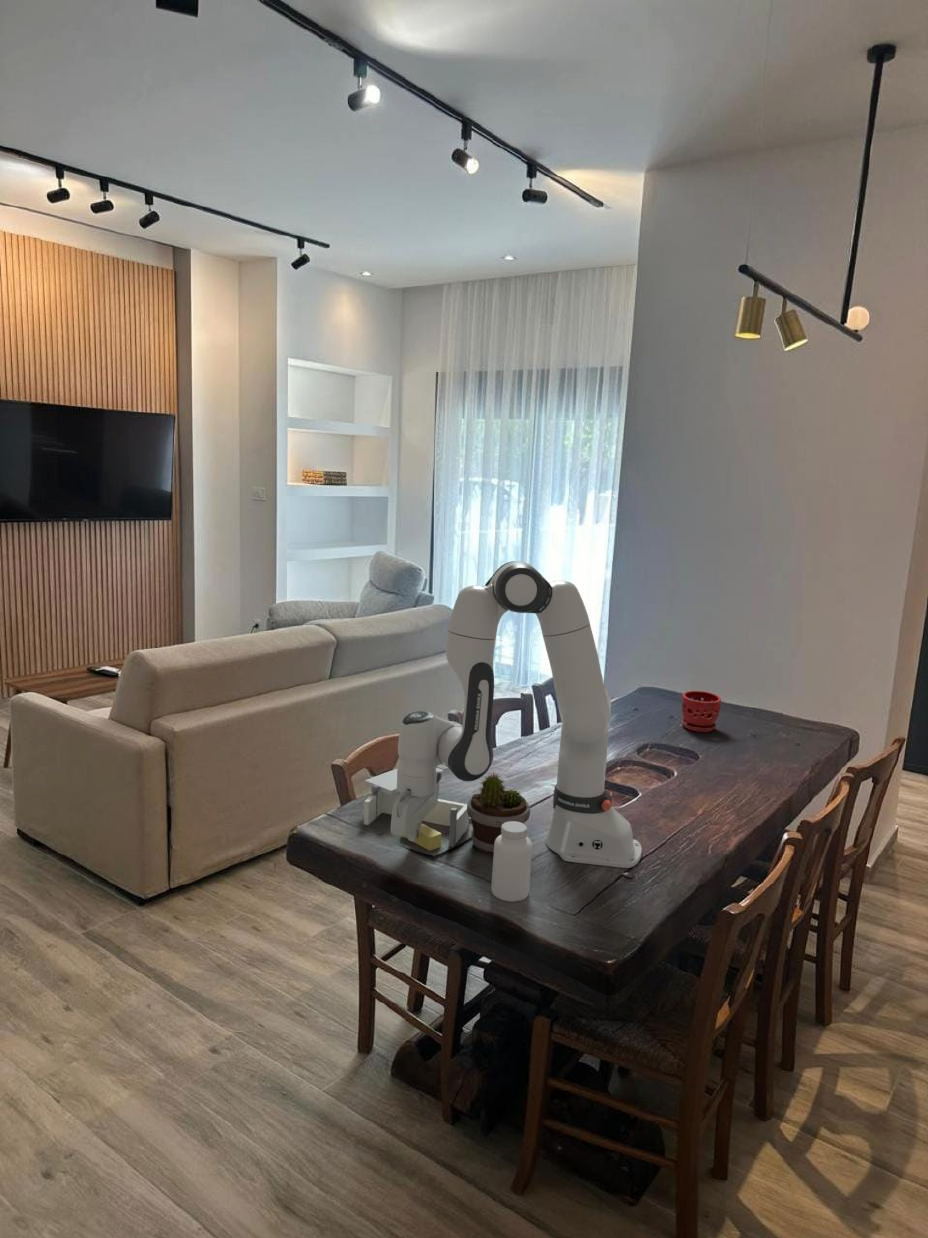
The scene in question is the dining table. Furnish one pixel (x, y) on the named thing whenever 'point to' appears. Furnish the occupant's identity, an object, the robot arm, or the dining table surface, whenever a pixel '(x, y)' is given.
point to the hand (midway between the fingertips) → (414, 838)
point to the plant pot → (700, 710)
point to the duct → (440, 814)
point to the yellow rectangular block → (428, 838)
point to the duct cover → (391, 781)
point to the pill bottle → (512, 863)
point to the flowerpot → (494, 812)
